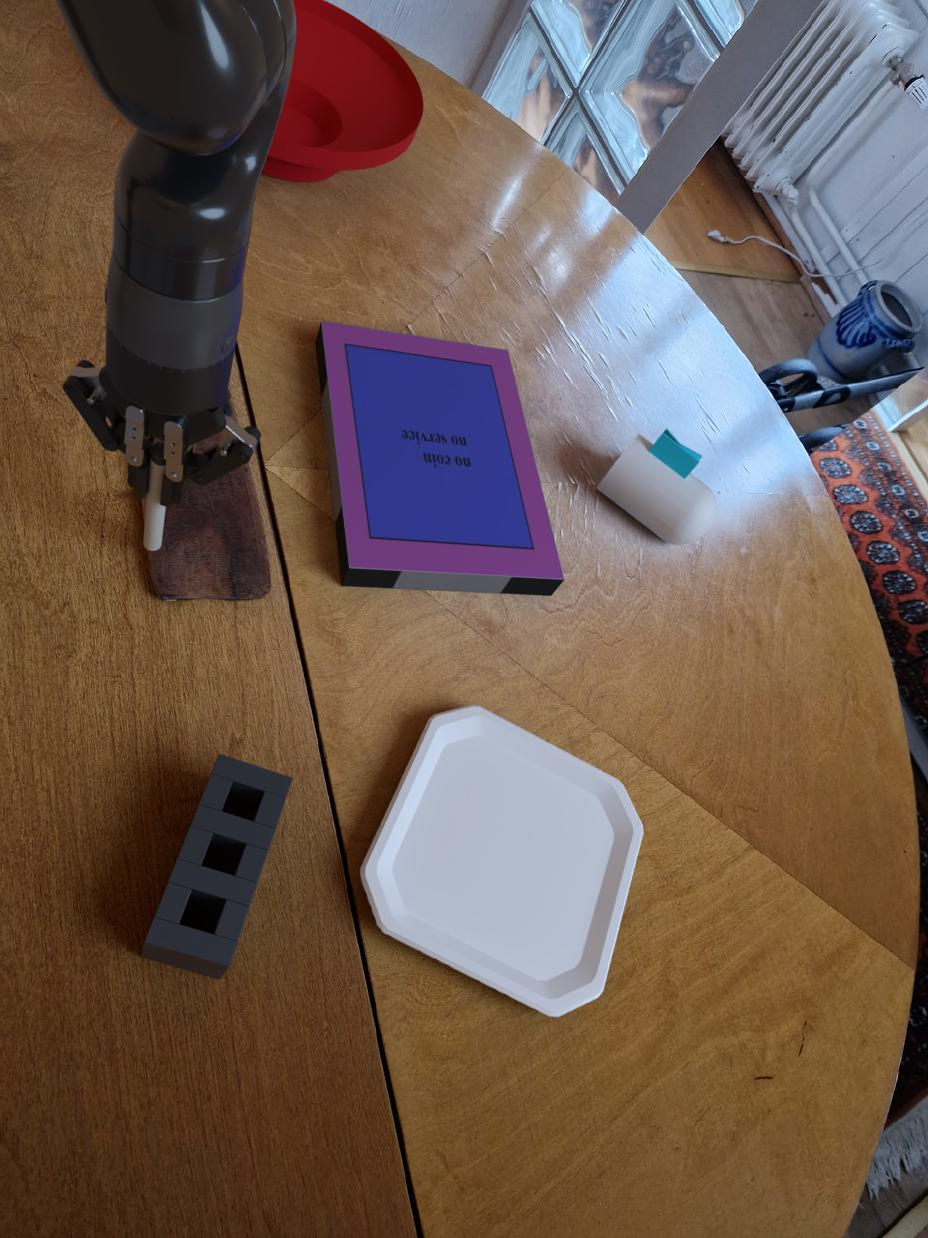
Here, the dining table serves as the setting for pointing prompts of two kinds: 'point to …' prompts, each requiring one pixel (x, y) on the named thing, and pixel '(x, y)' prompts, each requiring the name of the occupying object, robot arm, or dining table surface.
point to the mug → (661, 488)
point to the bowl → (342, 99)
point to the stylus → (155, 499)
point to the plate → (505, 860)
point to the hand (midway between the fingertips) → (156, 493)
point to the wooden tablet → (213, 539)
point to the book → (431, 466)
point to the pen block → (210, 886)
